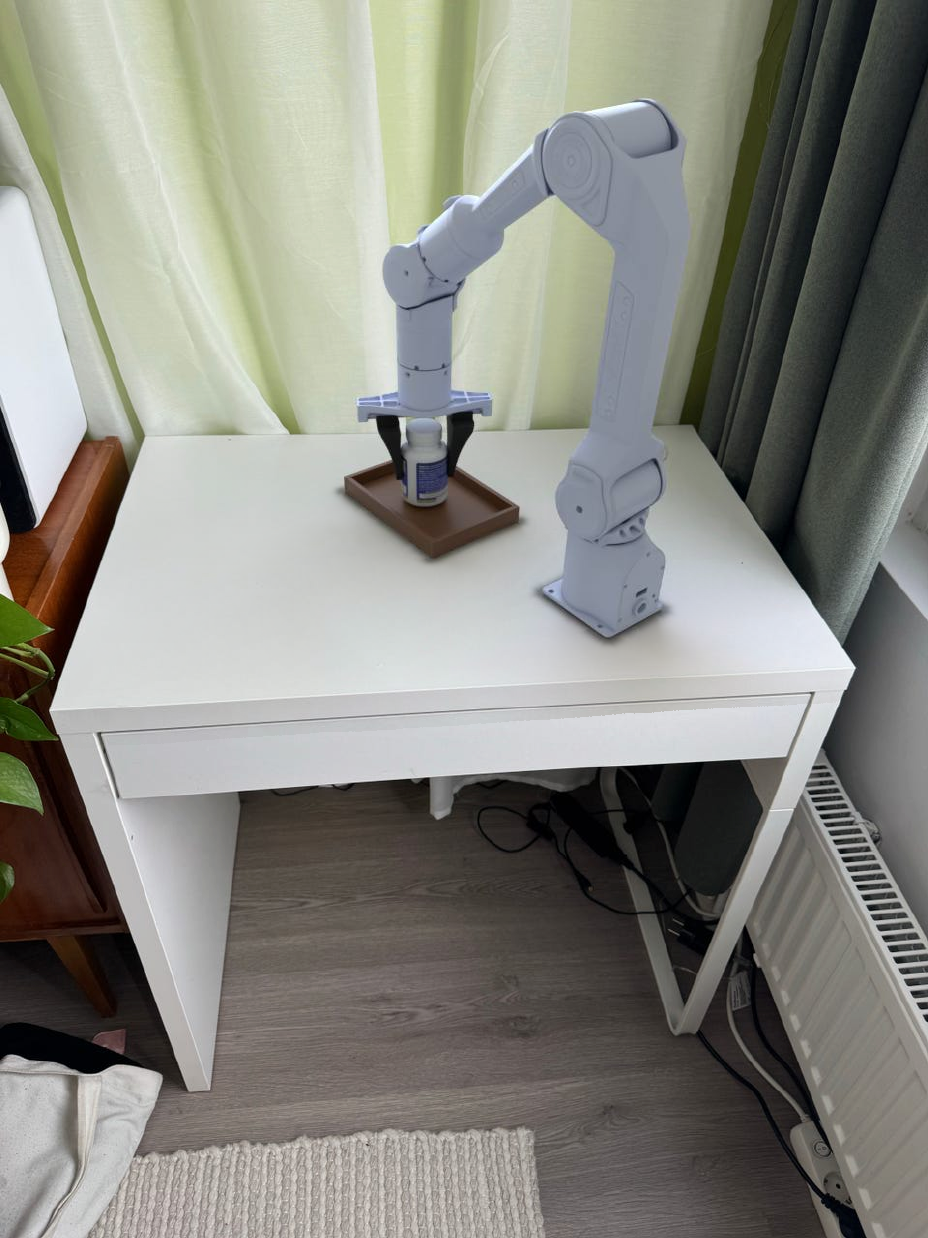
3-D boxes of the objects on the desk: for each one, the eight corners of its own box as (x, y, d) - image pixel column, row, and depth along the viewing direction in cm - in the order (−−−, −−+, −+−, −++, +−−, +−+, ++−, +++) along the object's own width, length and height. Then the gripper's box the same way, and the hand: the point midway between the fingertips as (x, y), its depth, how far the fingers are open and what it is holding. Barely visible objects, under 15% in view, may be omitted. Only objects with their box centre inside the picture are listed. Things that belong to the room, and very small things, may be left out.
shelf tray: (518, 521, 105) (519, 506, 104) (432, 558, 99) (433, 543, 98) (427, 461, 115) (427, 446, 114) (344, 491, 109) (343, 476, 108)
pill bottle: (455, 491, 108) (456, 422, 102) (433, 512, 104) (433, 441, 99) (415, 480, 110) (415, 411, 104) (392, 500, 106) (391, 429, 101)
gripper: (486, 342, 101) (481, 453, 109) (352, 347, 99) (358, 460, 107) (497, 369, 95) (492, 484, 104) (356, 374, 94) (362, 491, 102)
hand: (424, 474), depth 105 cm, fingers closed on pill bottle, 5 cm apart
